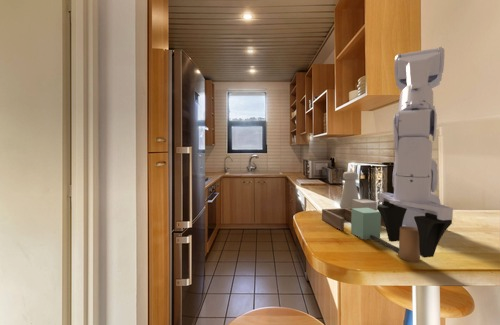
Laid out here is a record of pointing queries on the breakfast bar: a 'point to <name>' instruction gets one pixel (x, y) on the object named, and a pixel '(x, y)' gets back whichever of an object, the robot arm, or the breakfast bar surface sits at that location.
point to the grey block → (364, 204)
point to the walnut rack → (339, 217)
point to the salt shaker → (349, 189)
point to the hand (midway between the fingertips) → (409, 248)
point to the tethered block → (368, 227)
